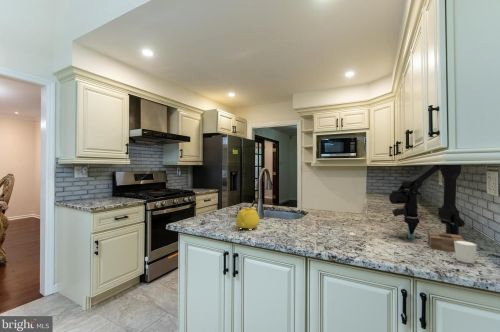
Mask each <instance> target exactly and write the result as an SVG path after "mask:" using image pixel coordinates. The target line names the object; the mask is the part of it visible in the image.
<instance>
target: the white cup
mask: <svg viewBox="0 0 500 332" xmlns="http://www.w3.org/2000/svg"><path fill="white" fill-rule="evenodd" d="M454 246H455V252H454V253H455V260H456V261H459V262H462V263H466V264H474V263H476V256H477V249H478V244H476V243H474V242H472V241H466V240H465V241H454Z"/></svg>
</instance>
